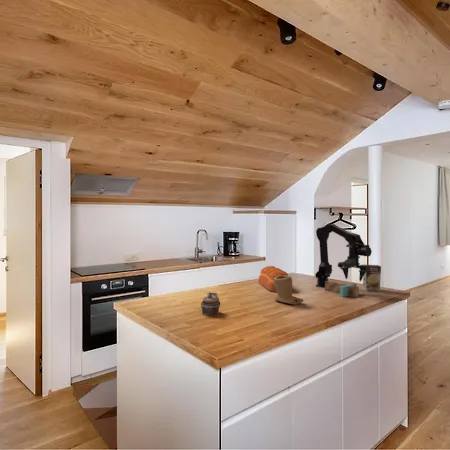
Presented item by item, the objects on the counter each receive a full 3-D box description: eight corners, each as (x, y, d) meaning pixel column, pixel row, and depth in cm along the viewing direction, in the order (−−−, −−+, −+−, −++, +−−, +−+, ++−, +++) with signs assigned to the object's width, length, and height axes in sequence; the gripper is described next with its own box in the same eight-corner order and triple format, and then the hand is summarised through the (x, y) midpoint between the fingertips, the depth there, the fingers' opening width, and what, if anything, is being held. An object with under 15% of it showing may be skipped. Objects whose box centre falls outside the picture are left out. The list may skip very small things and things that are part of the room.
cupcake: (201, 310, 177) (201, 290, 176) (220, 310, 176) (220, 291, 176) (199, 316, 167) (199, 295, 167) (219, 316, 167) (219, 295, 166)
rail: (324, 290, 222) (324, 281, 222) (326, 290, 223) (326, 280, 223) (356, 297, 205) (356, 287, 205) (358, 296, 206) (358, 286, 206)
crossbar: (342, 297, 205) (343, 287, 205) (339, 296, 206) (339, 286, 206) (356, 293, 214) (356, 283, 214) (353, 292, 216) (353, 283, 216)
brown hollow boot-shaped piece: (268, 301, 195) (269, 274, 194) (283, 298, 202) (283, 272, 201) (289, 307, 183) (289, 279, 182) (304, 303, 190) (304, 276, 189)
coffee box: (365, 291, 221) (366, 266, 221) (362, 288, 228) (363, 264, 227) (380, 291, 220) (381, 266, 220) (377, 289, 227) (377, 264, 226)
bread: (277, 281, 249) (277, 263, 248) (294, 292, 218) (294, 271, 218) (256, 282, 246) (256, 264, 245) (270, 293, 215) (270, 272, 215)
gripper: (332, 254, 215) (332, 279, 215) (361, 257, 200) (360, 284, 201) (342, 252, 222) (342, 277, 222) (371, 255, 207) (370, 281, 208)
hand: (353, 280), depth 213 cm, fingers open, 9 cm apart
